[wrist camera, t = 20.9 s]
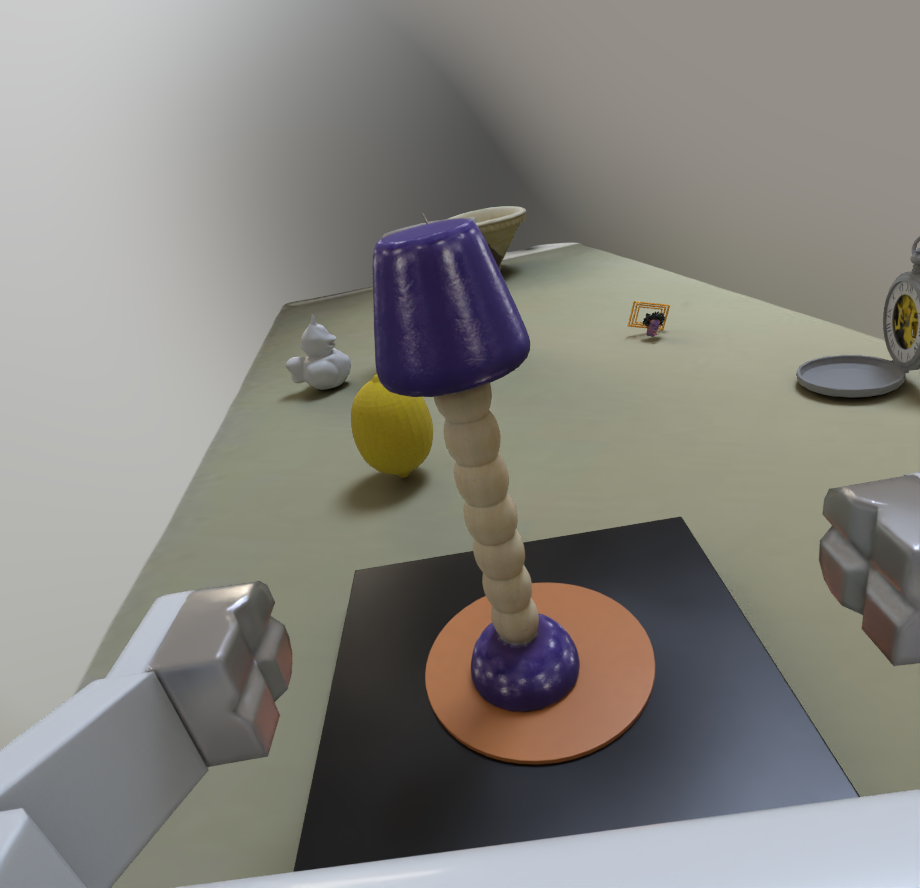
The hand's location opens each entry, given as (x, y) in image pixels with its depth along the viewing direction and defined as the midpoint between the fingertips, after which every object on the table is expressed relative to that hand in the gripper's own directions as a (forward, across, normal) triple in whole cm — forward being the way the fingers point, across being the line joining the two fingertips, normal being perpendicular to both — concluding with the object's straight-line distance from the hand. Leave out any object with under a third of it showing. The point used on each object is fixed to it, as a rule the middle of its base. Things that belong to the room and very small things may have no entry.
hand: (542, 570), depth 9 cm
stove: (+11, 0, -15) cm, 19 cm away
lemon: (+32, -7, -15) cm, 36 cm away
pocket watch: (+34, +27, -15) cm, 46 cm away
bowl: (+98, +1, -16) cm, 99 cm away
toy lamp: (+10, -1, -13) cm, 17 cm away
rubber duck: (+55, -18, -15) cm, 59 cm away
